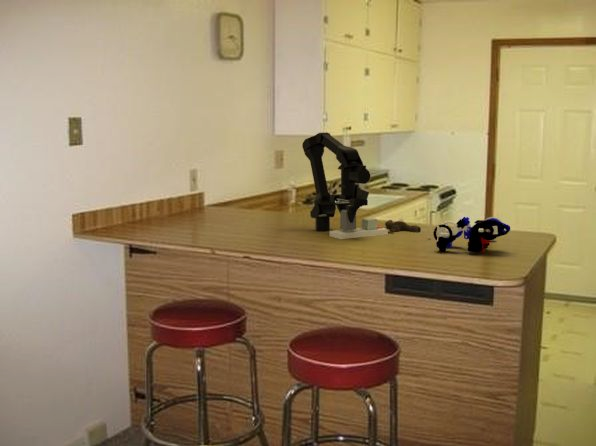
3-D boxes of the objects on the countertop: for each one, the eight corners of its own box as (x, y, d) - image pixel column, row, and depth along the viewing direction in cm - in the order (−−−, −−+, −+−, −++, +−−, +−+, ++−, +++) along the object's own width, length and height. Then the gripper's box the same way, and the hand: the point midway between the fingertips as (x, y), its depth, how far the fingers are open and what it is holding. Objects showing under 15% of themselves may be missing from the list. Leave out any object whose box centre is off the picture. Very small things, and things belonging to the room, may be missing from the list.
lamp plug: (361, 233, 273) (361, 218, 272) (370, 232, 275) (371, 217, 275) (367, 235, 270) (368, 220, 269) (377, 234, 272) (377, 219, 271)
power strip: (340, 241, 262) (340, 232, 261) (329, 238, 269) (329, 229, 268) (387, 236, 272) (387, 227, 271) (376, 233, 279) (376, 224, 278)
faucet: (424, 233, 280) (406, 242, 269) (388, 227, 290) (369, 236, 279) (424, 221, 279) (406, 231, 268) (388, 216, 289) (369, 225, 278)
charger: (340, 228, 268) (340, 210, 267) (349, 227, 270) (349, 209, 269) (346, 230, 264) (346, 211, 263) (356, 229, 266) (356, 210, 265)
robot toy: (442, 214, 252) (512, 215, 241) (442, 246, 254) (512, 249, 243) (431, 220, 238) (505, 222, 227) (431, 254, 240) (505, 257, 229)
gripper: (379, 182, 260) (379, 223, 263) (352, 178, 276) (352, 217, 279) (354, 184, 255) (354, 225, 257) (329, 180, 271) (329, 219, 274)
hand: (348, 221), depth 267 cm, fingers closed on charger, 4 cm apart
